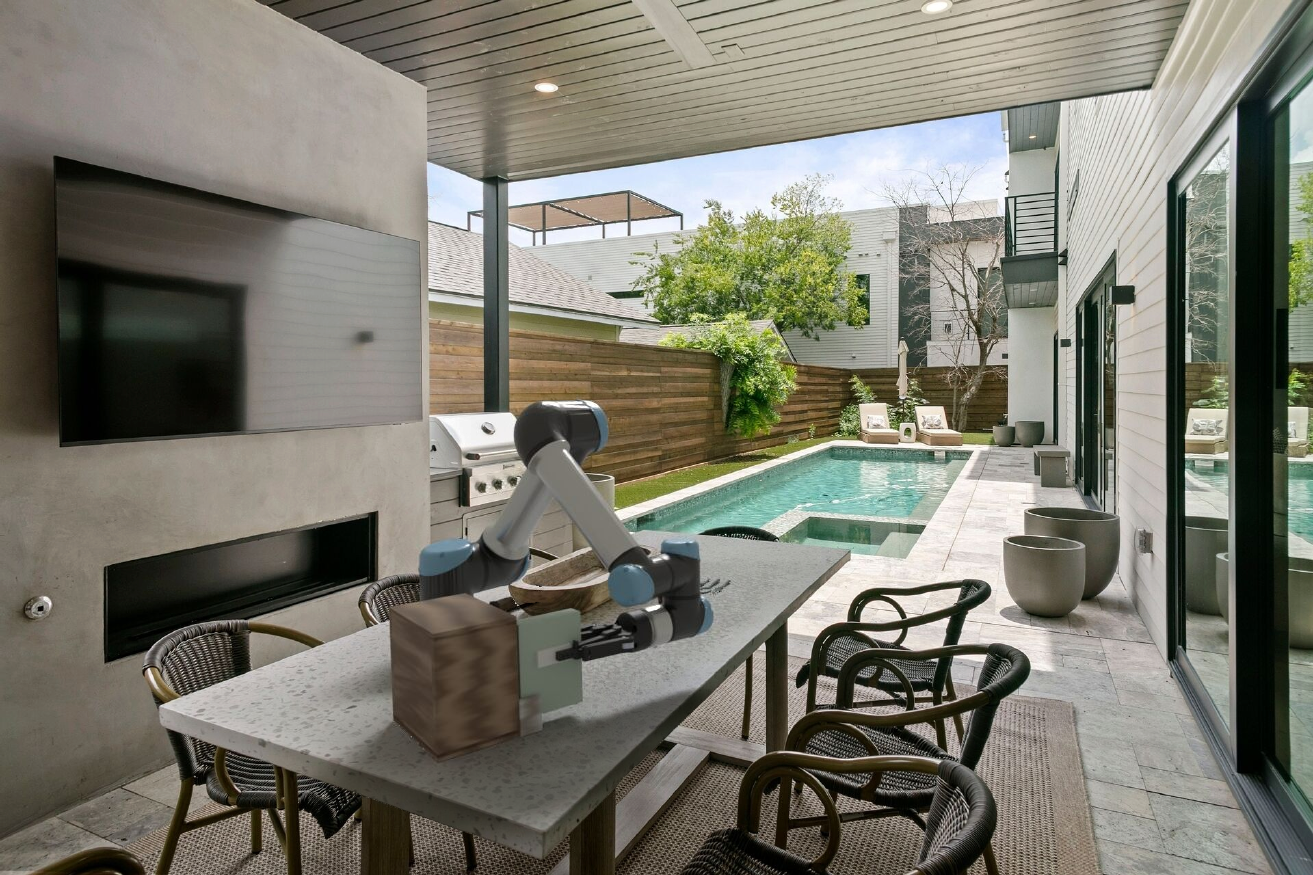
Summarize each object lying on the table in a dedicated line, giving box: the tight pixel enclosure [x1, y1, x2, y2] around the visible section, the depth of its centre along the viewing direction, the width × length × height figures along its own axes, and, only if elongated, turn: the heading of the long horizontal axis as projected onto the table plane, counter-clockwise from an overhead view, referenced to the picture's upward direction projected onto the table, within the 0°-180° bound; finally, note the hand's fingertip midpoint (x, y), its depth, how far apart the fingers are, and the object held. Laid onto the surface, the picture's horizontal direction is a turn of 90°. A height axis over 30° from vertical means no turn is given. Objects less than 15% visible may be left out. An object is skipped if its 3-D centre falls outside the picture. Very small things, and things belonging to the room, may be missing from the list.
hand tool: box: [488, 584, 543, 612], centre depth 204 cm, size 19×4×5 cm, turn 143°
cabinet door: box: [516, 608, 584, 715], centre depth 131 cm, size 12×3×16 cm, turn 128°
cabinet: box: [388, 593, 543, 763], centre depth 130 cm, size 18×20×20 cm
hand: (531, 656), depth 129 cm, fingers closed on cabinet door, 3 cm apart
